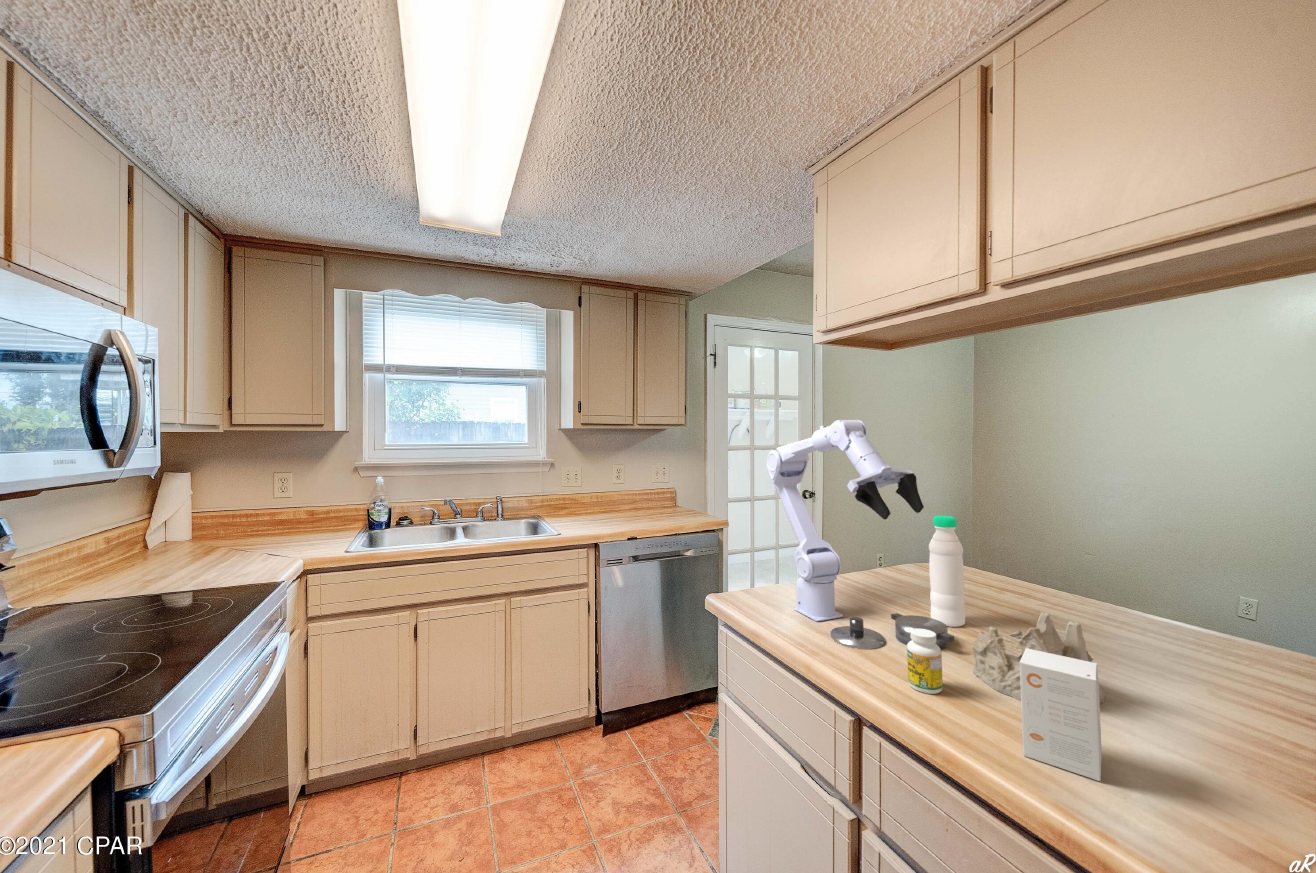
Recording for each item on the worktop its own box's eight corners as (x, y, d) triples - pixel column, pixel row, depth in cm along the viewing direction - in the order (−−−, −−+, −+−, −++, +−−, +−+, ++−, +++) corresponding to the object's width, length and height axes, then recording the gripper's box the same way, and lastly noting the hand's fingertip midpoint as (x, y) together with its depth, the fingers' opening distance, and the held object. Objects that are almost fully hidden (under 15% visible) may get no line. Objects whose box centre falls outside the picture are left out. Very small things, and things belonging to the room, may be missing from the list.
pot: (877, 631, 110) (877, 616, 110) (911, 624, 114) (910, 609, 114) (932, 657, 97) (932, 640, 97) (968, 649, 100) (968, 632, 100)
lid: (820, 634, 110) (819, 614, 110) (858, 627, 114) (858, 607, 114) (855, 654, 100) (854, 632, 100) (896, 645, 104) (895, 624, 104)
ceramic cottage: (1124, 703, 79) (1111, 609, 80) (1036, 718, 77) (1024, 621, 78) (1037, 665, 94) (1027, 587, 95) (961, 677, 92) (952, 596, 93)
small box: (1102, 758, 66) (1099, 662, 66) (1101, 783, 61) (1098, 680, 61) (1027, 735, 72) (1024, 646, 72) (1021, 756, 67) (1018, 661, 67)
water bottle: (972, 627, 111) (968, 518, 111) (941, 628, 111) (937, 519, 112) (954, 616, 118) (951, 514, 119) (924, 617, 118) (921, 514, 119)
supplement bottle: (950, 691, 84) (948, 636, 84) (925, 697, 82) (923, 640, 83) (924, 677, 89) (923, 625, 89) (901, 682, 88) (899, 629, 88)
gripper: (844, 454, 101) (879, 507, 92) (904, 444, 104) (944, 495, 95) (833, 476, 106) (866, 528, 97) (891, 466, 109) (927, 515, 100)
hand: (903, 513), depth 96 cm, fingers open, 7 cm apart
